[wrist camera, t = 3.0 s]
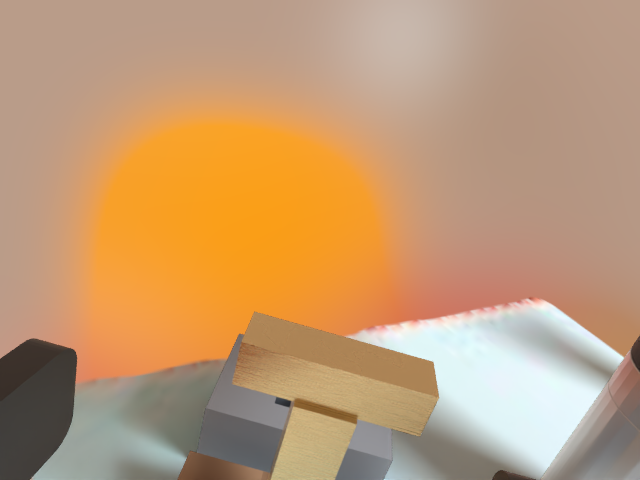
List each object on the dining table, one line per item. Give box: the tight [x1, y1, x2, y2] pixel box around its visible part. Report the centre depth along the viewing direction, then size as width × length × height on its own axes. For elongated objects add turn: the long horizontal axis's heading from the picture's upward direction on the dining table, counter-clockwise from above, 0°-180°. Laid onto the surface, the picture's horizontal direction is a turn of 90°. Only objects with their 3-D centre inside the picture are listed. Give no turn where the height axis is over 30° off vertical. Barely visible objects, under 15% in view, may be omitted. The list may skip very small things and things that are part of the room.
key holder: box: [197, 334, 393, 480], centre depth 39 cm, size 14×9×6 cm, turn 83°
